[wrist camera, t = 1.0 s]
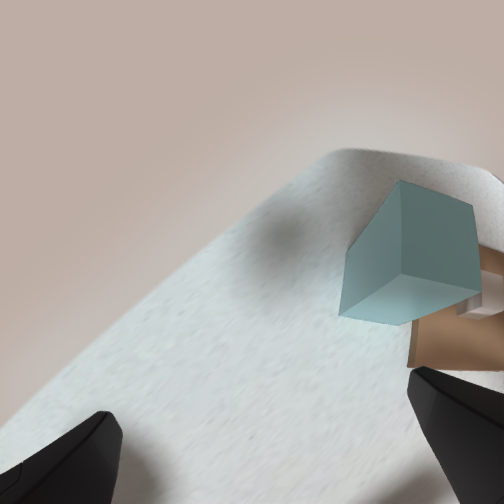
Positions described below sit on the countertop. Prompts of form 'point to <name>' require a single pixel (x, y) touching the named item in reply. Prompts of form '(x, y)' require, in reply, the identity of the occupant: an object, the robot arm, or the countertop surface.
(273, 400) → the countertop surface
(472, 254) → the teal rectangular prism
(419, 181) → the countertop surface
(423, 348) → the post board
